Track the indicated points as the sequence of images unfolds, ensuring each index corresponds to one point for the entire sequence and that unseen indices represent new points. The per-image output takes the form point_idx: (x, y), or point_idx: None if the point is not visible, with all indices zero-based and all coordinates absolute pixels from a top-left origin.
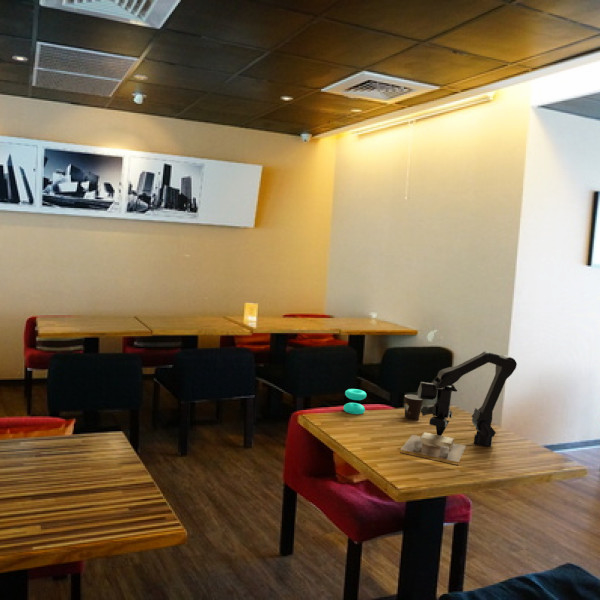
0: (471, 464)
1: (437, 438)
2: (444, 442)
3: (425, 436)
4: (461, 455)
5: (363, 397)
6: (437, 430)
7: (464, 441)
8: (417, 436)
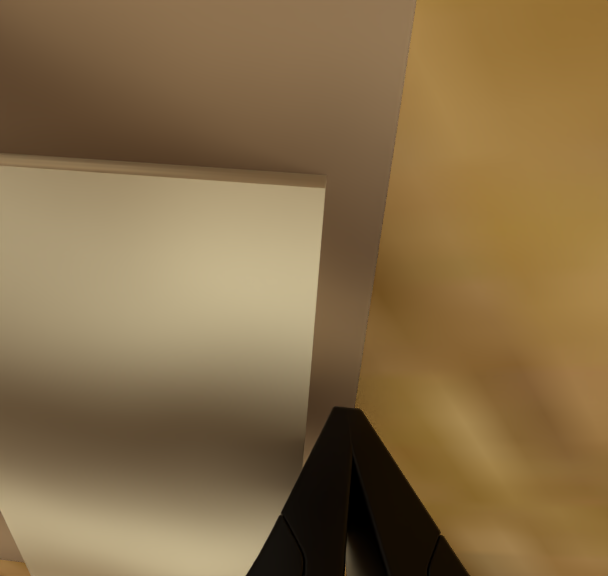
0: (8, 567)
1: (89, 451)
2: (9, 521)
3: (7, 256)
4: (20, 560)
5: None
6: (278, 534)
7: (580, 561)
8: (362, 30)
